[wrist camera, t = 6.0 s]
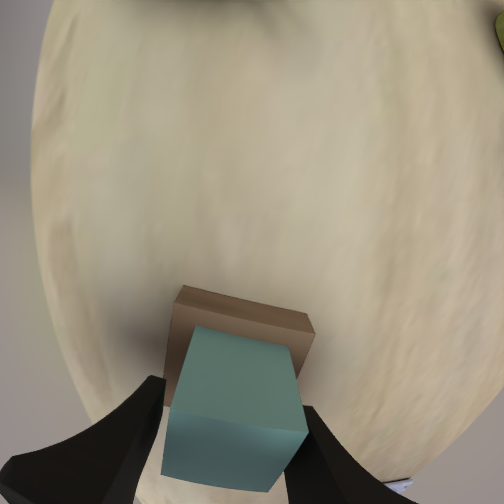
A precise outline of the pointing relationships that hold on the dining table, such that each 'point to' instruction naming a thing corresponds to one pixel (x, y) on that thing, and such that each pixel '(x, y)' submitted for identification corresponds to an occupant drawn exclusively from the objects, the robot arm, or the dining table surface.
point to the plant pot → (500, 28)
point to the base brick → (231, 328)
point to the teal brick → (233, 413)
